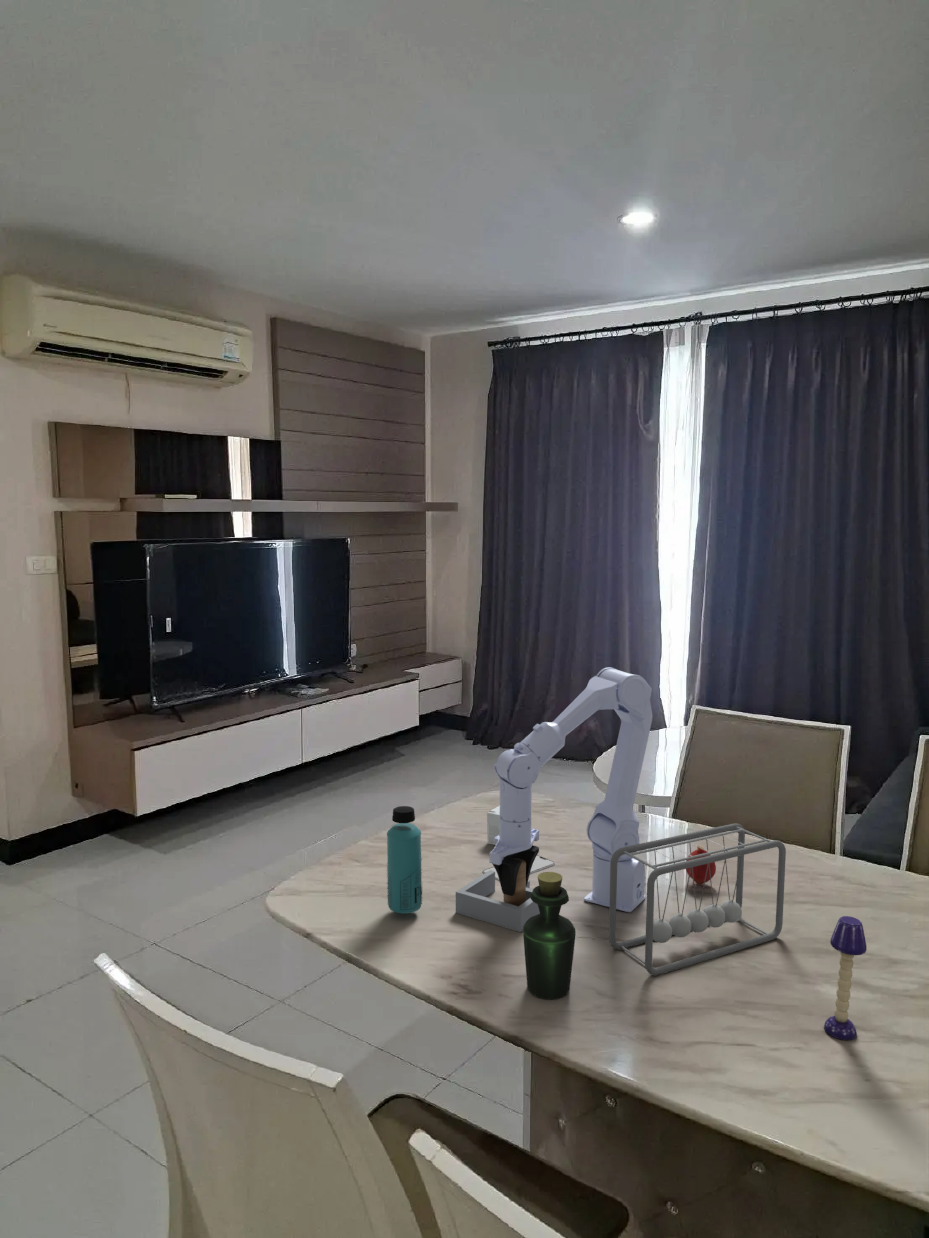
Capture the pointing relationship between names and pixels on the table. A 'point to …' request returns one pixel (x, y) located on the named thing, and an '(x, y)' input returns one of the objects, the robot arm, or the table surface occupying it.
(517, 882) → the peg
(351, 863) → the table surface
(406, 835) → the beverage bottle
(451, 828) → the table surface
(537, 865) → the smartphone
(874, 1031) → the table surface
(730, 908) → the newton's cradle
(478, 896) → the channel
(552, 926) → the potion bottle
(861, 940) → the toy lamp
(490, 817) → the skincare box
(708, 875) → the onion
